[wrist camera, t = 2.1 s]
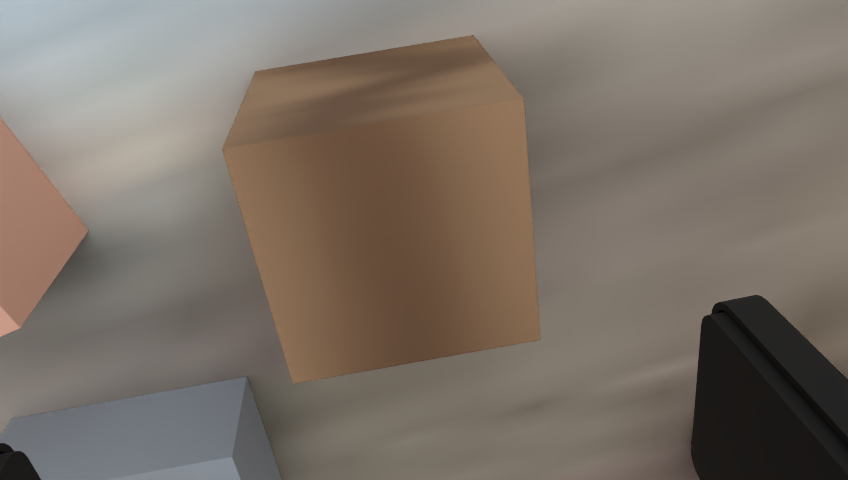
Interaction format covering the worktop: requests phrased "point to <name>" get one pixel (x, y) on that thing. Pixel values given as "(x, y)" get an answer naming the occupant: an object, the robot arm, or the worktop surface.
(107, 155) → the worktop surface
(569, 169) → the worktop surface
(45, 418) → the base block
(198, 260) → the worktop surface
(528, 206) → the walnut cube
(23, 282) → the terracotta block
